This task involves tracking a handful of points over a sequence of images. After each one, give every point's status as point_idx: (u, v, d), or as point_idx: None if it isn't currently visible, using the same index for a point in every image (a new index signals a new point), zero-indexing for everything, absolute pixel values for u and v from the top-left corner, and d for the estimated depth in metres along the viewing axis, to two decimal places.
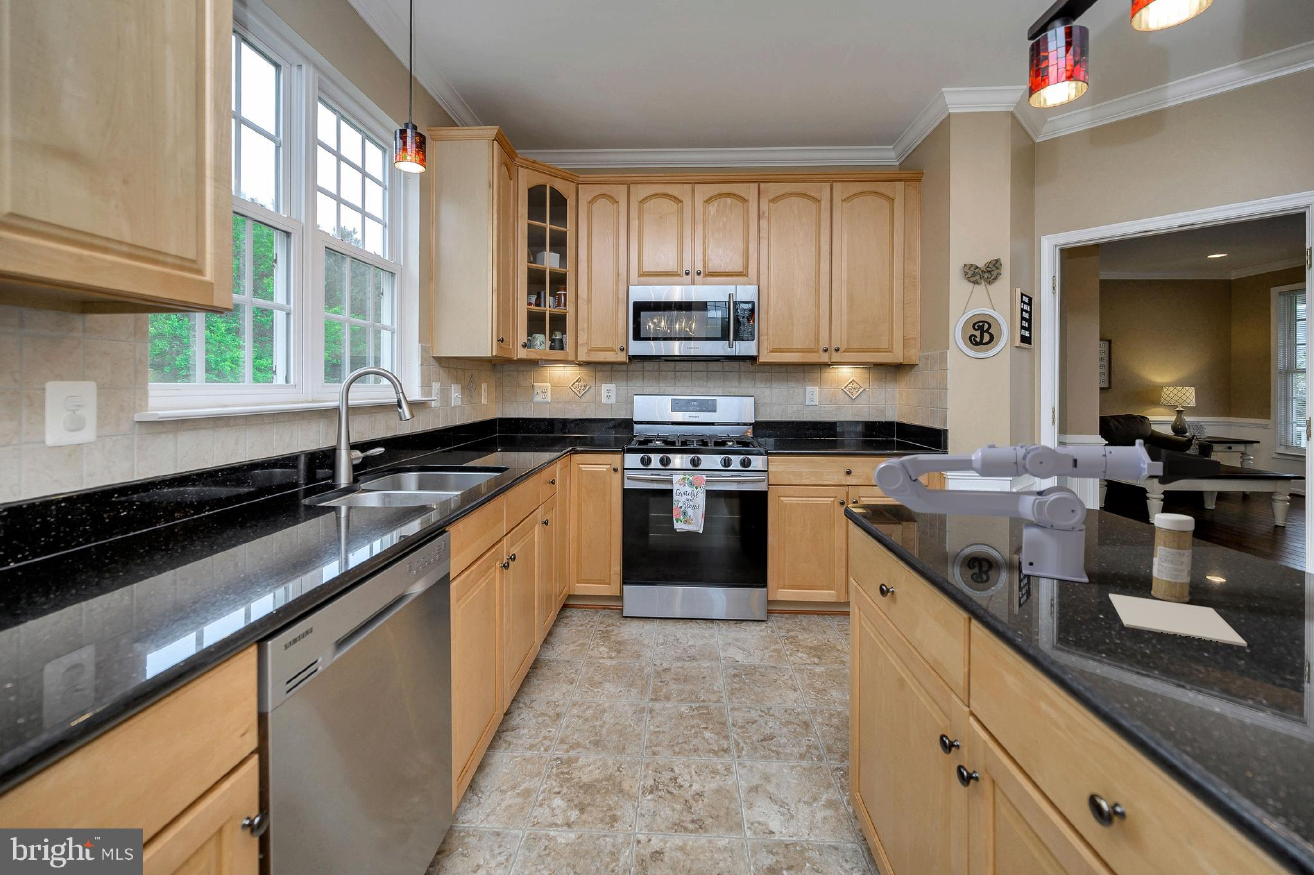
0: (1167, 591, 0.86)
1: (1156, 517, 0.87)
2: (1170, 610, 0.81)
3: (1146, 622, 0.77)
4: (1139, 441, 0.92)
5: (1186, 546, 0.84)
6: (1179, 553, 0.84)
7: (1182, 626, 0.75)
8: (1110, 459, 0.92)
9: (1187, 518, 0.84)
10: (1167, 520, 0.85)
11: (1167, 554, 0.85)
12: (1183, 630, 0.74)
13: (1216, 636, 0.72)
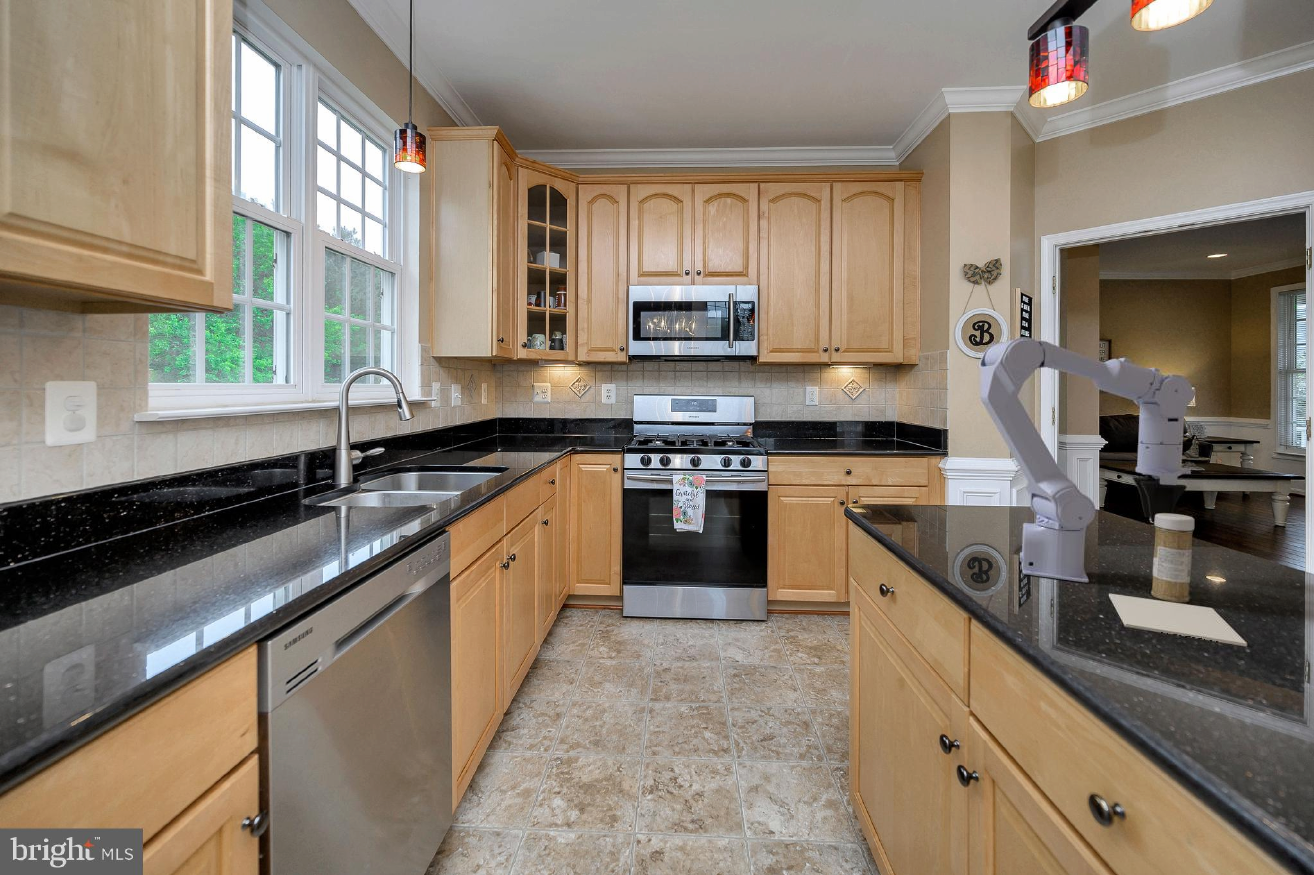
0: (1167, 591, 0.86)
1: (1156, 517, 0.87)
2: (1170, 610, 0.81)
3: (1146, 622, 0.77)
4: (1189, 471, 0.93)
5: (1186, 546, 0.84)
6: (1179, 553, 0.84)
7: (1182, 626, 0.75)
8: (1170, 447, 0.93)
9: (1187, 518, 0.84)
10: (1167, 520, 0.85)
11: (1167, 554, 0.85)
12: (1183, 630, 0.74)
13: (1216, 636, 0.72)
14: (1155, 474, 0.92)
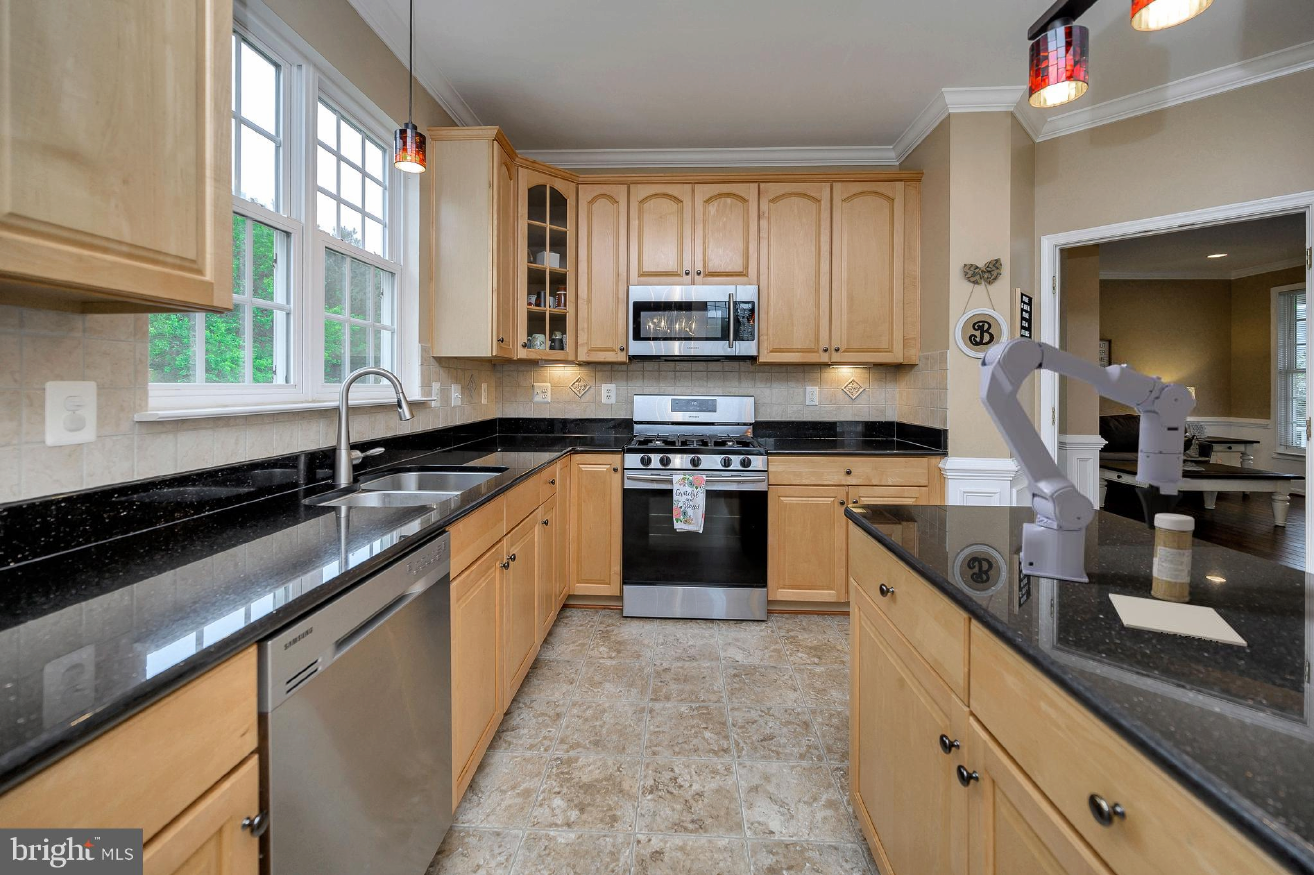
0: (1167, 591, 0.86)
1: (1156, 517, 0.87)
2: (1170, 610, 0.81)
3: (1146, 622, 0.77)
4: (1190, 480, 0.92)
5: (1186, 546, 0.84)
6: (1179, 553, 0.84)
7: (1182, 626, 0.75)
8: (1170, 457, 0.92)
9: (1187, 518, 0.84)
10: (1167, 520, 0.85)
11: (1167, 554, 0.85)
12: (1183, 630, 0.74)
13: (1216, 636, 0.72)
14: (1155, 483, 0.91)
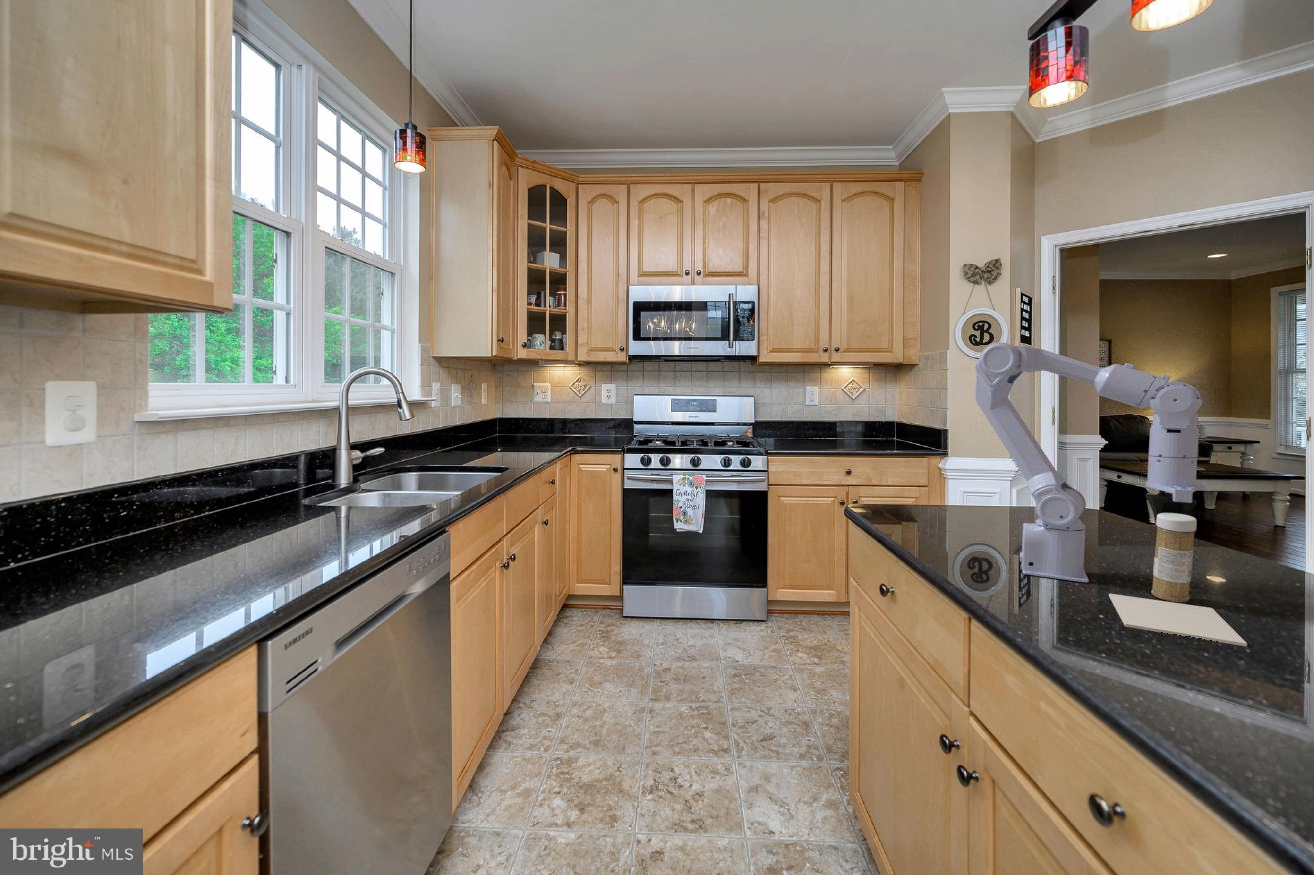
0: (1167, 591, 0.85)
1: (1158, 517, 0.86)
2: (1170, 610, 0.81)
3: (1146, 622, 0.77)
4: (1204, 486, 0.86)
5: (1188, 547, 0.84)
6: (1180, 554, 0.84)
7: (1182, 626, 0.75)
8: (1184, 461, 0.85)
9: (1189, 519, 0.83)
10: (1169, 521, 0.84)
11: (1168, 555, 0.85)
12: (1183, 630, 0.74)
13: (1216, 636, 0.72)
14: (1168, 490, 0.85)
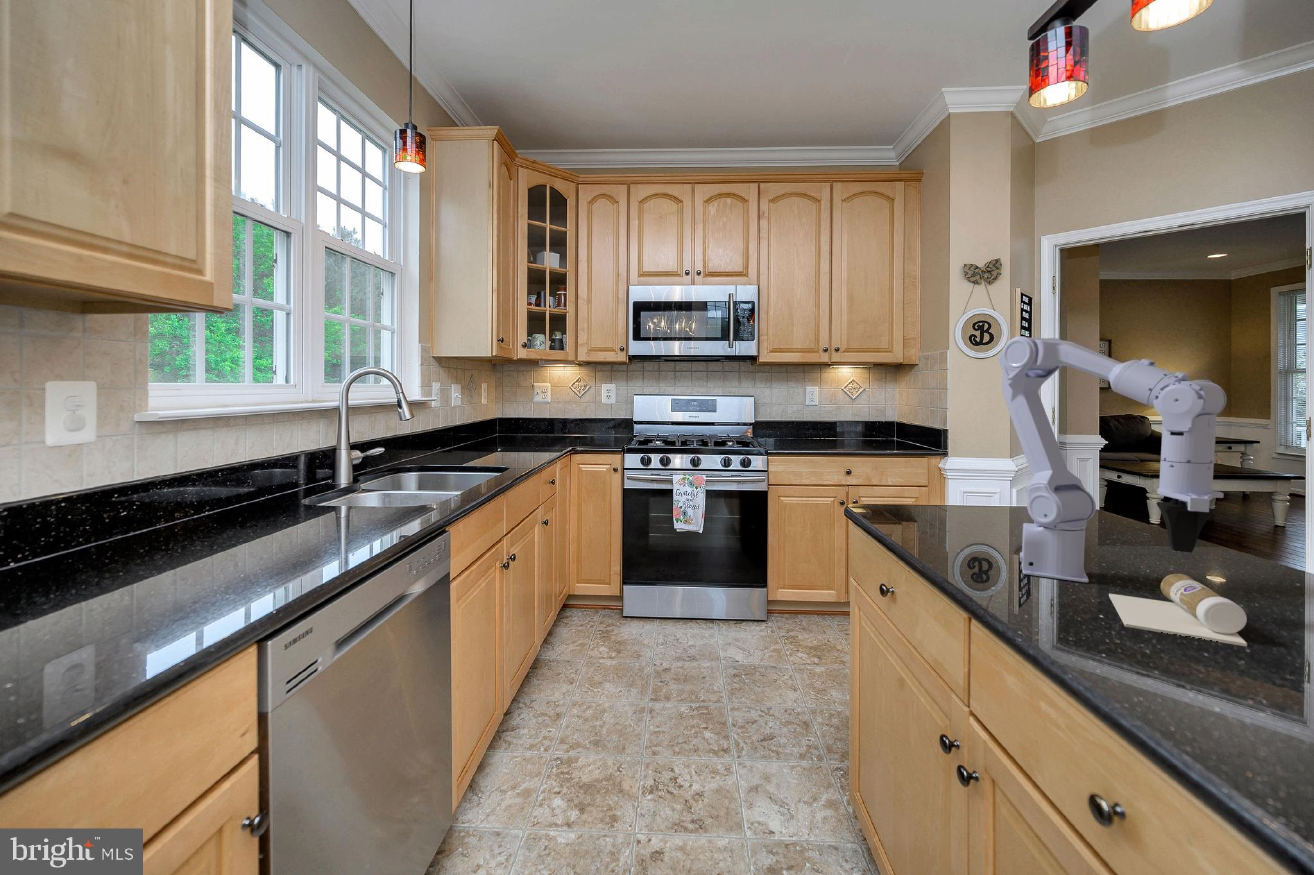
0: None
1: (1201, 615, 0.74)
2: (1170, 610, 0.81)
3: (1146, 622, 0.77)
4: (1222, 494, 0.79)
5: None
6: None
7: (1182, 626, 0.75)
8: (1199, 467, 0.79)
9: (1233, 630, 0.72)
10: (1207, 626, 0.74)
11: None
12: (1183, 630, 0.74)
13: (1216, 636, 0.72)
14: (1182, 498, 0.78)
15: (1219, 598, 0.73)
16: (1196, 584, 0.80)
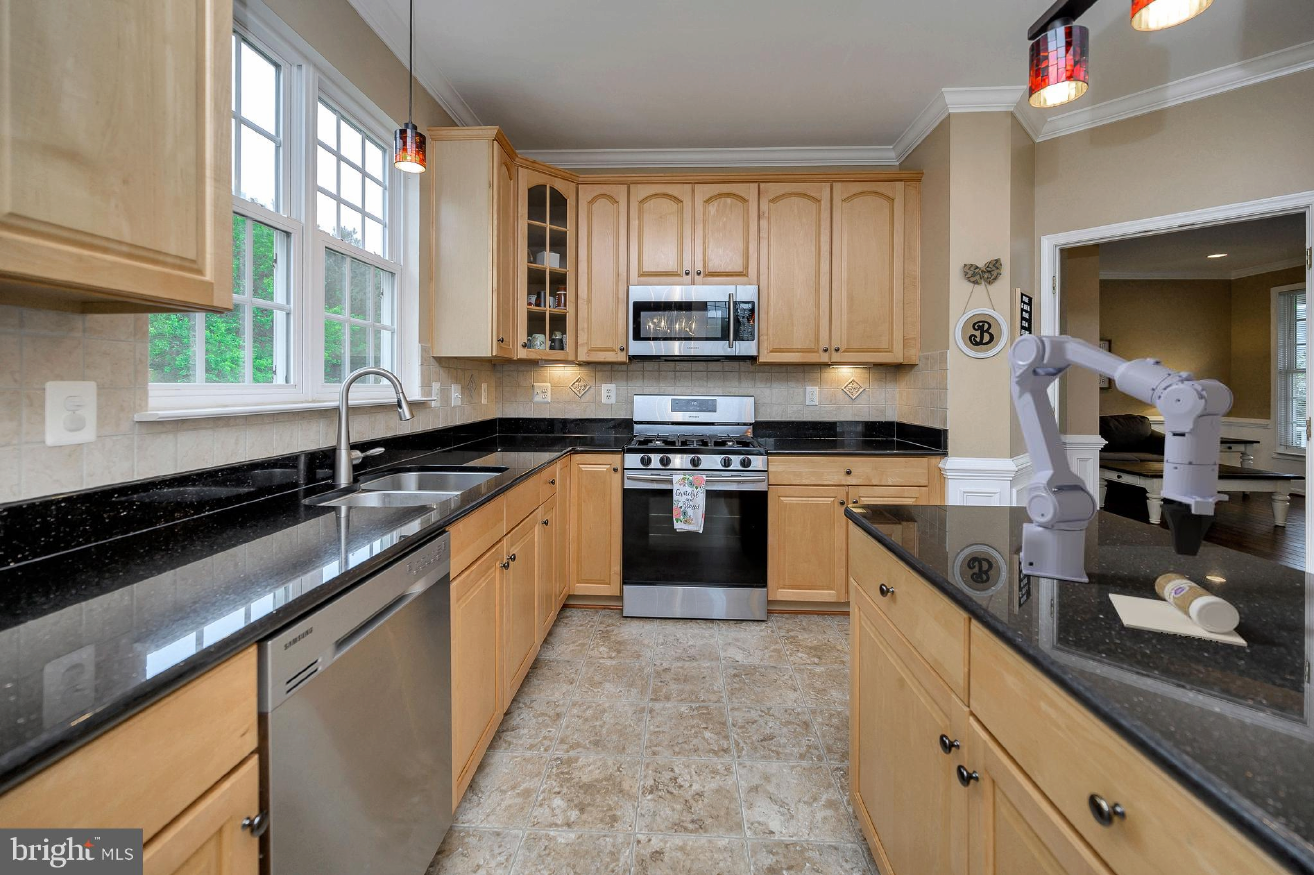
0: None
1: (1195, 619, 0.74)
2: (1170, 610, 0.81)
3: (1146, 622, 0.77)
4: (1227, 497, 0.77)
5: None
6: None
7: (1182, 626, 0.75)
8: (1204, 469, 0.77)
9: (1231, 627, 0.72)
10: None
11: None
12: (1183, 630, 0.74)
13: (1216, 636, 0.72)
14: (1186, 501, 0.76)
15: (1205, 598, 0.74)
16: (1184, 584, 0.80)
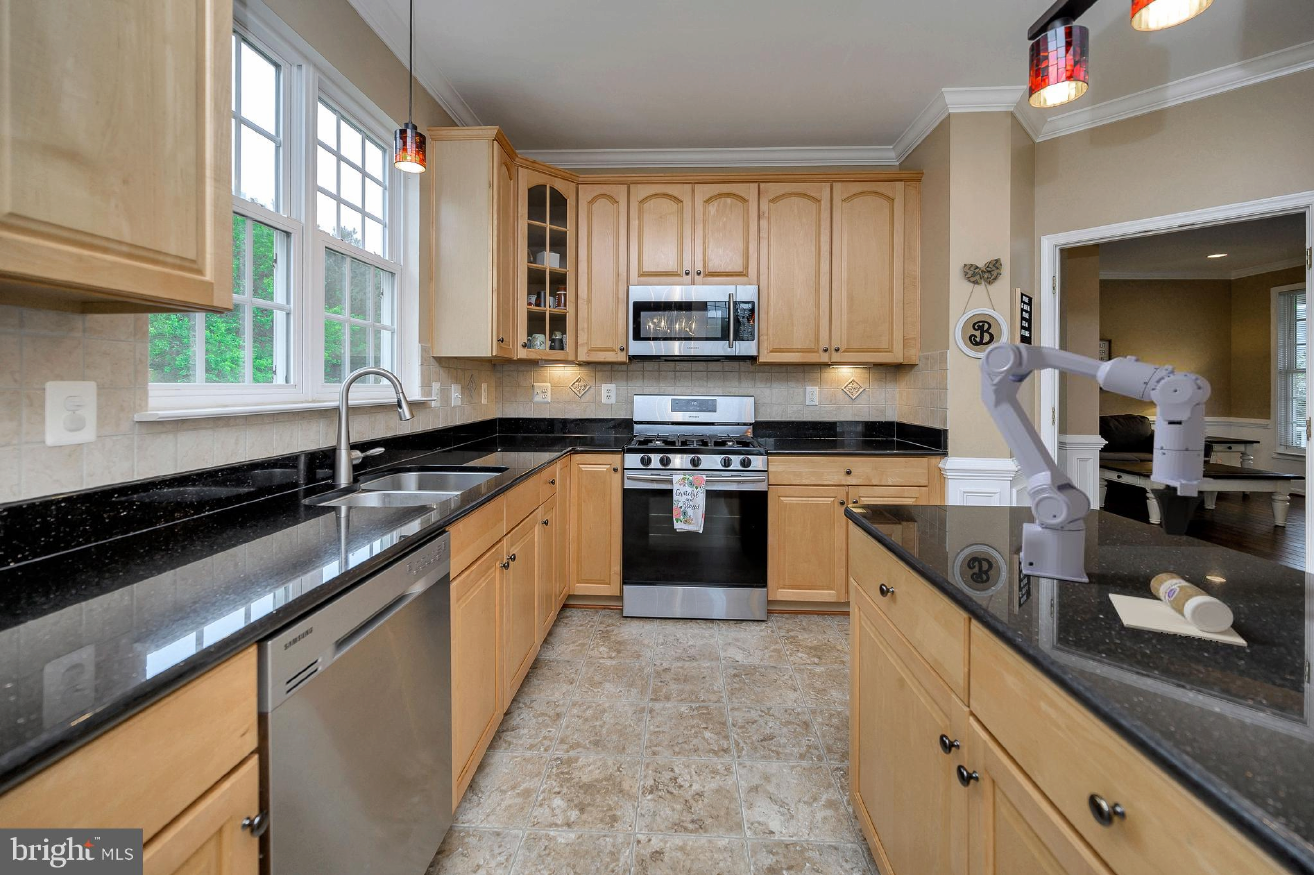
0: None
1: (1192, 623, 0.74)
2: (1170, 610, 0.81)
3: (1146, 622, 0.77)
4: (1212, 480, 0.83)
5: None
6: None
7: (1182, 626, 0.75)
8: (1190, 454, 0.83)
9: (1227, 624, 0.72)
10: None
11: None
12: (1183, 630, 0.74)
13: (1216, 636, 0.72)
14: (1172, 484, 0.82)
15: (1194, 599, 0.74)
16: (1174, 585, 0.81)
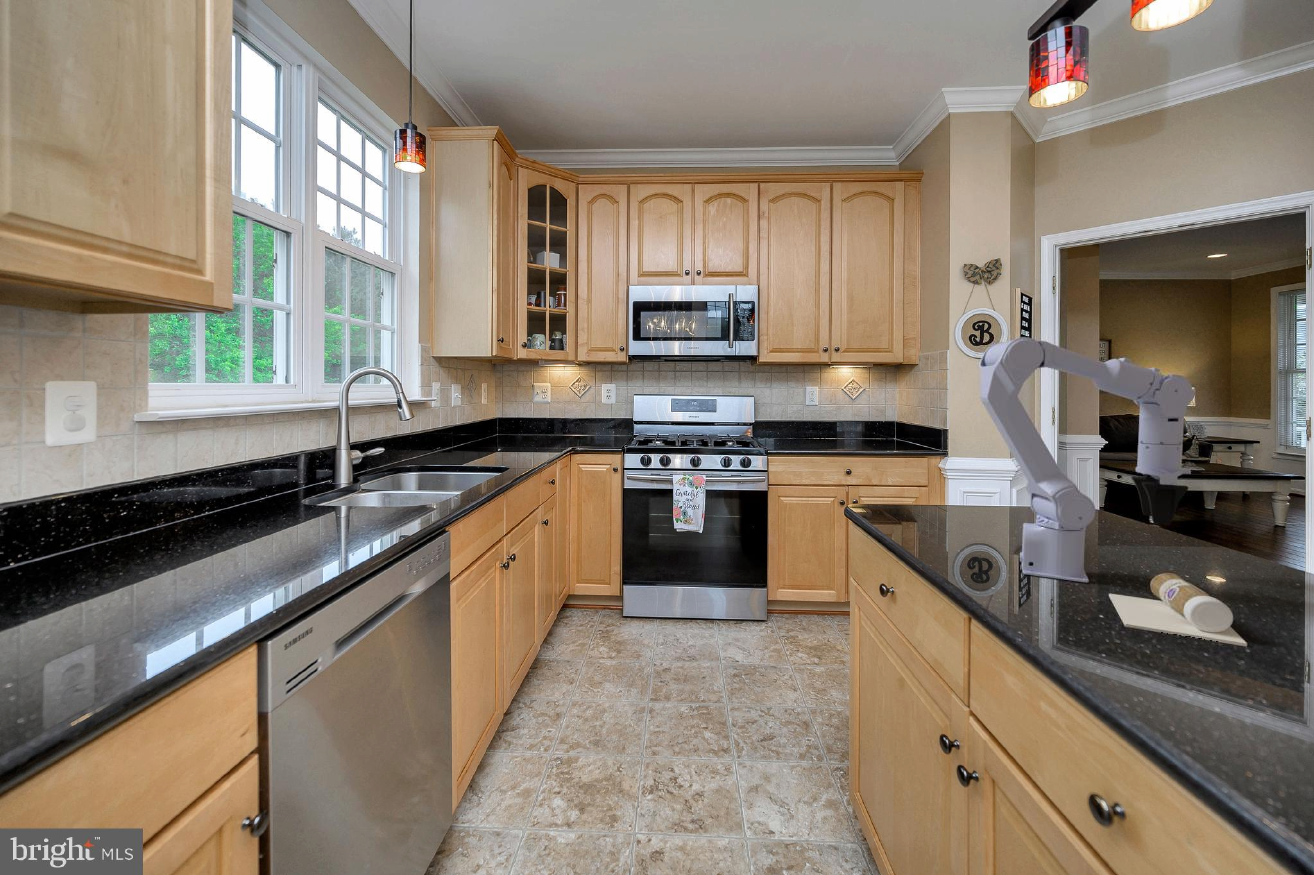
0: None
1: (1192, 623, 0.74)
2: (1170, 610, 0.81)
3: (1146, 622, 0.77)
4: (1189, 471, 0.93)
5: None
6: None
7: (1182, 626, 0.75)
8: (1170, 447, 0.93)
9: (1227, 624, 0.72)
10: None
11: None
12: (1183, 630, 0.74)
13: (1216, 636, 0.72)
14: (1155, 474, 0.92)
15: (1194, 599, 0.74)
16: (1174, 585, 0.81)
